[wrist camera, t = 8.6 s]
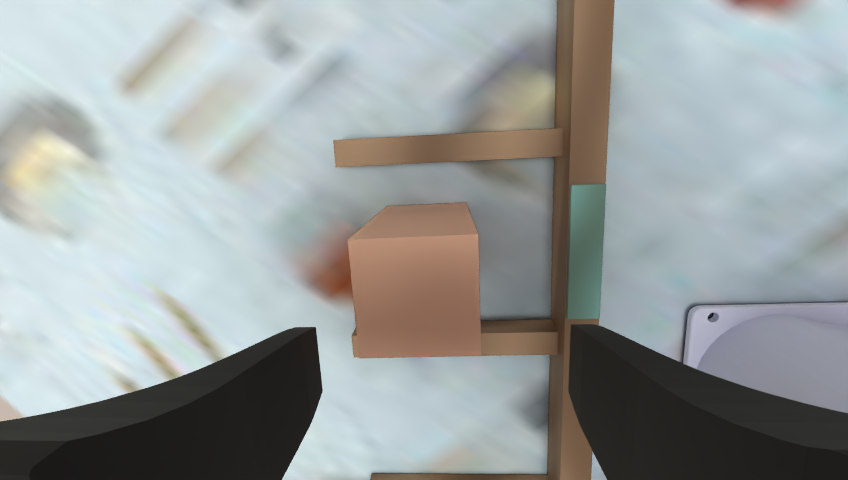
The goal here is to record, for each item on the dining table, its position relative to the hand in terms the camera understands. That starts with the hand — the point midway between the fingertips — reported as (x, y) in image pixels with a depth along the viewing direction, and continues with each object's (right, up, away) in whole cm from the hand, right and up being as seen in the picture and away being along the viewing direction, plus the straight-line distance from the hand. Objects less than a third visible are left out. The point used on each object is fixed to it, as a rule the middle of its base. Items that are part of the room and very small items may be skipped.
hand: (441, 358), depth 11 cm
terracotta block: (0, +3, +9) cm, 10 cm away
